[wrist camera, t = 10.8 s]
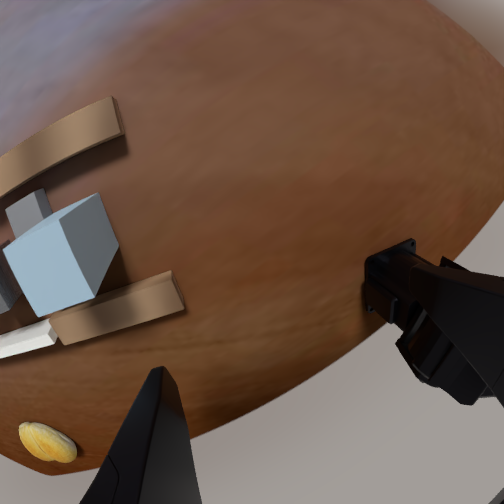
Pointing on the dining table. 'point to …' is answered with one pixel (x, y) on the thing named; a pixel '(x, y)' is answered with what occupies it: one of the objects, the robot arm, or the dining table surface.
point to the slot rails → (53, 153)
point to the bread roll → (47, 442)
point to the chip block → (7, 282)
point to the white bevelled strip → (27, 338)
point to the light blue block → (59, 250)
